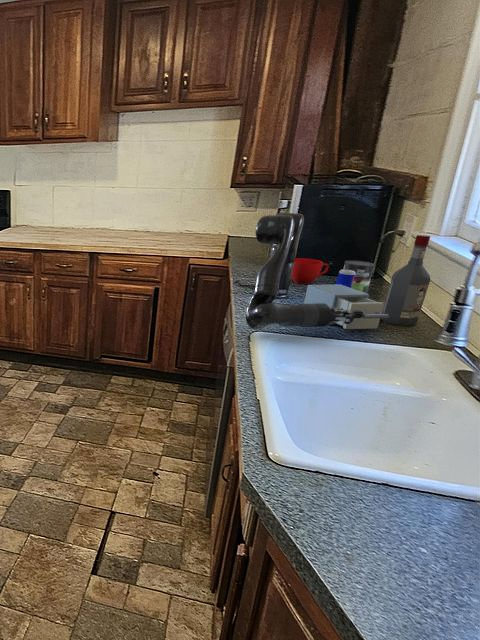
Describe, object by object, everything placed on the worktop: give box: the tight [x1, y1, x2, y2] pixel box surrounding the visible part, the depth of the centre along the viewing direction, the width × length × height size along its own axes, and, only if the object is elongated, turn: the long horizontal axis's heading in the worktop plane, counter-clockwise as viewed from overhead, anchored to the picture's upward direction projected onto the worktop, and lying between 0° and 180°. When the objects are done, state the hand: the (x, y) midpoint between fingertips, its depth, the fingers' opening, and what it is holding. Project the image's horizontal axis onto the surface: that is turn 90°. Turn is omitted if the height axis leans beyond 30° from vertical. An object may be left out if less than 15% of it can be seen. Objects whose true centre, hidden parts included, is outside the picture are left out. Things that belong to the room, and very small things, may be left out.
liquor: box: [380, 234, 431, 327], centre depth 181 cm, size 9×9×30 cm
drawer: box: [334, 297, 389, 330], centre depth 178 cm, size 18×11×9 cm, turn 5°
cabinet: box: [303, 283, 370, 326], centre depth 188 cm, size 15×13×11 cm
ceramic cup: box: [291, 257, 330, 285], centre depth 239 cm, size 13×17×10 cm
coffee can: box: [343, 260, 376, 294], centre depth 216 cm, size 10×10×14 cm
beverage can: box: [335, 268, 355, 288], centre depth 197 cm, size 5×5×15 cm
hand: (360, 314), depth 171 cm, fingers closed
